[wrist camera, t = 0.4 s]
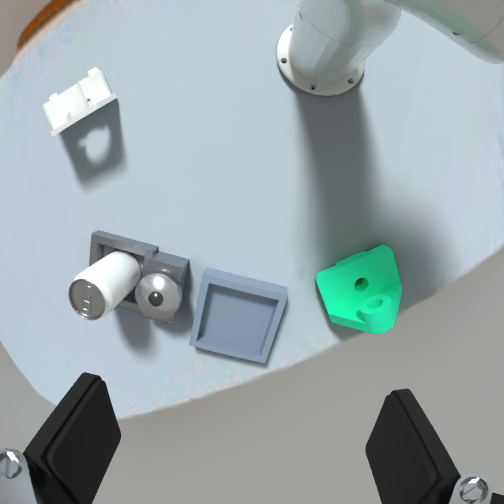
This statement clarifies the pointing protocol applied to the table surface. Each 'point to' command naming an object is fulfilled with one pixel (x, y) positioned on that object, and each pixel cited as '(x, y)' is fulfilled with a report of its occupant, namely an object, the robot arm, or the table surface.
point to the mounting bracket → (77, 101)
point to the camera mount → (363, 290)
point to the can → (104, 285)
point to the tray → (237, 315)
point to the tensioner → (148, 277)
